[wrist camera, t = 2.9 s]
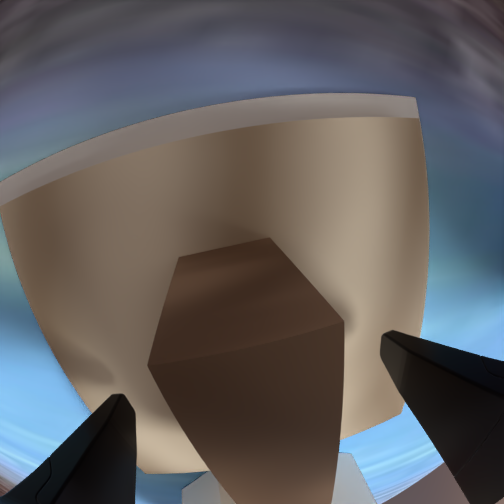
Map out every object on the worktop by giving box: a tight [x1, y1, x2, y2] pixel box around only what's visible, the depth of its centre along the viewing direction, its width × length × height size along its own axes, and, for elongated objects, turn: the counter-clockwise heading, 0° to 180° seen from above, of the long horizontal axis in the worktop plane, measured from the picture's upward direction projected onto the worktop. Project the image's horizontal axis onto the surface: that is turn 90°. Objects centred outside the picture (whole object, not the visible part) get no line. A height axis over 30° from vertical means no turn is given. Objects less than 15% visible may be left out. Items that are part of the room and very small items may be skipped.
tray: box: [0, 93, 429, 410], centre depth 10 cm, size 16×16×1 cm
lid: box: [0, 117, 429, 504], centre depth 7 cm, size 14×14×6 cm
